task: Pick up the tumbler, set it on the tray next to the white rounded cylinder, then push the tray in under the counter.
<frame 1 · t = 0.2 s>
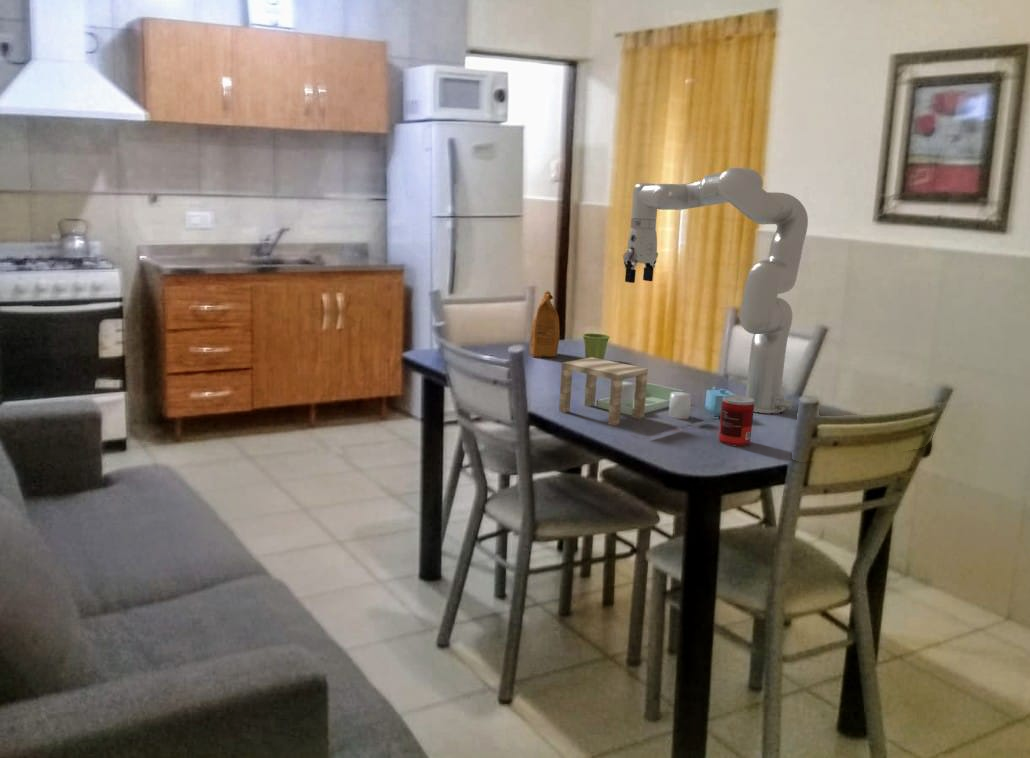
hand: (638, 281, 299), 31 cm above the table, tool pointing down, fingers open, 9 cm apart
tray: (640, 399, 269), point 2 cm above the table, slide at 12.0 cm, touching white rounded cylinder
canned food: (733, 443, 240), on the table
coffee package: (543, 355, 340), on the table
plant pot: (594, 361, 335), on the table
tumbler: (678, 419, 259), on the table
teapot: (718, 415, 267), on the table
counter: (600, 417, 256), on the table
white rounded cylinder: (622, 409, 264), point 1 cm above the table, touching tray
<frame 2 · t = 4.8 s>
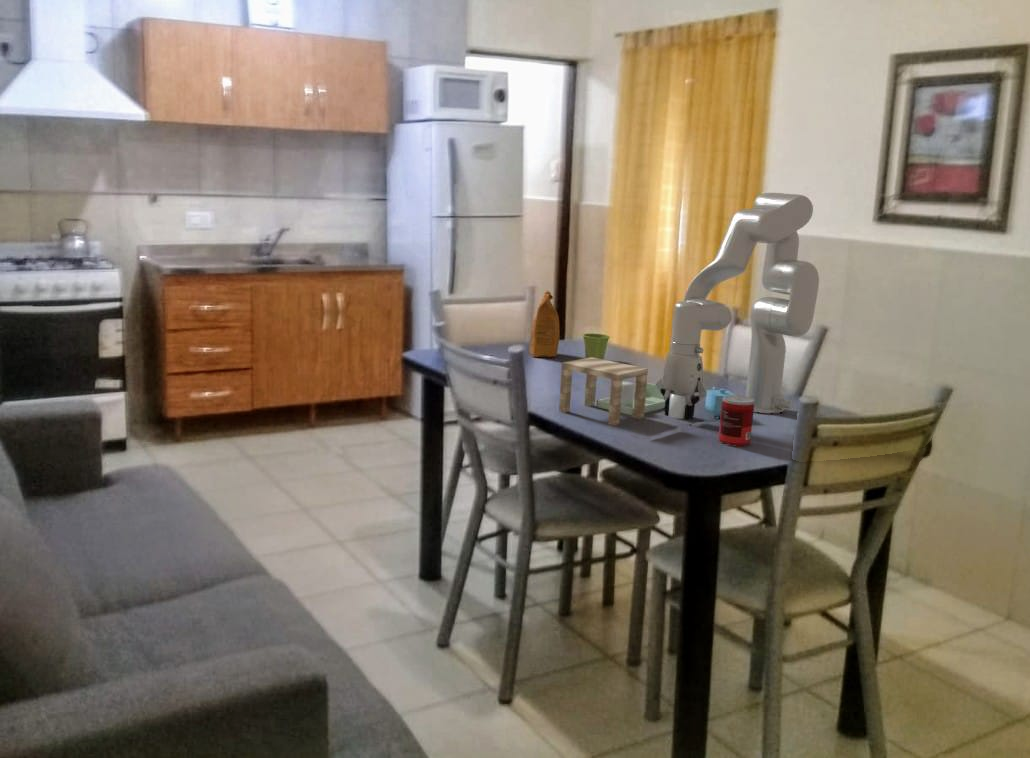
hand: (678, 416, 259), 1 cm above the table, tool pointing down, fingers closed on tumbler, 5 cm apart
tumbler: (678, 419, 259), on the table, touching gripper
everything else where it was.
when the fingers open (3 cm above the table, at t = 9.1 s): tumbler drops 1 cm, resting on tray.
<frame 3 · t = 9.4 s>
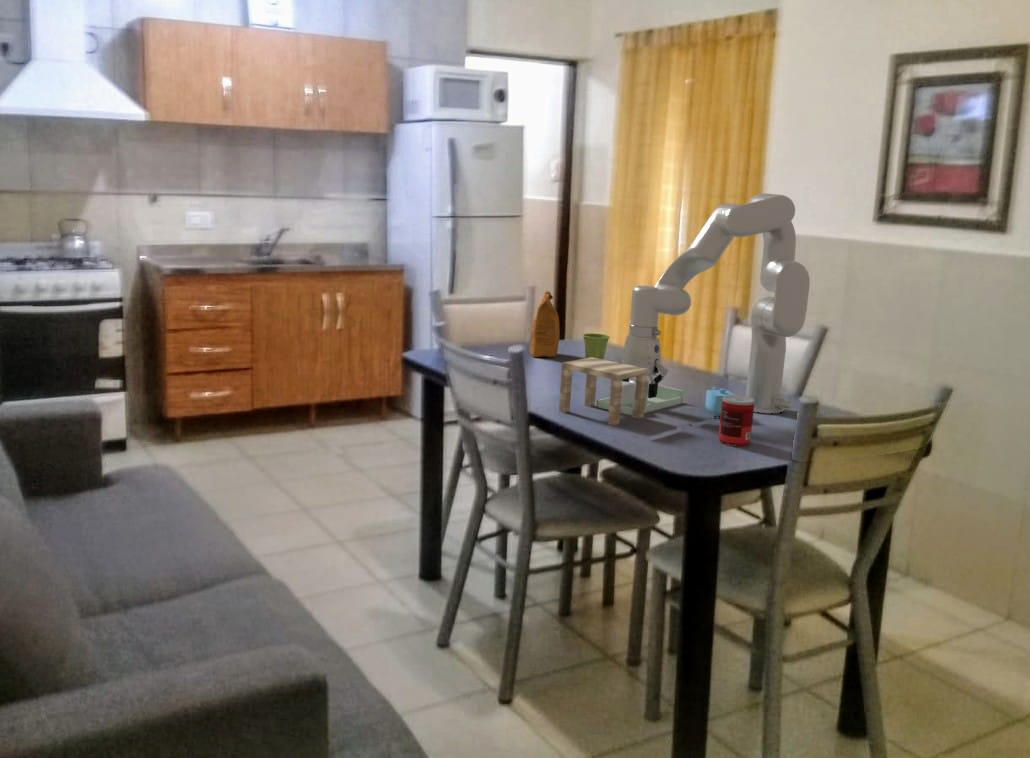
hand: (638, 394, 268), 4 cm above the table, tool pointing down, fingers open, 8 cm apart
tray: (640, 399, 269), point 2 cm above the table, slide at 12.0 cm, touching white rounded cylinder, tumbler
tumbler: (637, 405, 268), point 1 cm above the table, touching tray
everything else where it was.
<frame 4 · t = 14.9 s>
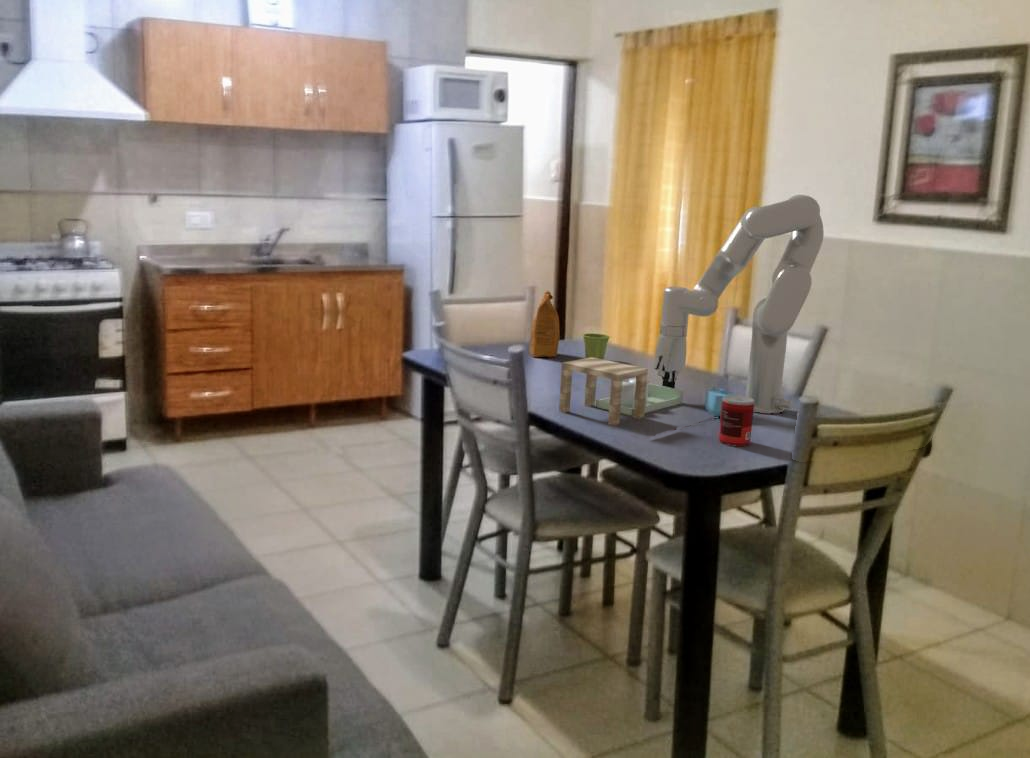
hand: (667, 394, 280), 2 cm above the table, tool pointing down, fingers closed
tray: (640, 399, 269), point 2 cm above the table, slide at 11.8 cm, touching gripper, white rounded cylinder, tumbler
everything else where it was.
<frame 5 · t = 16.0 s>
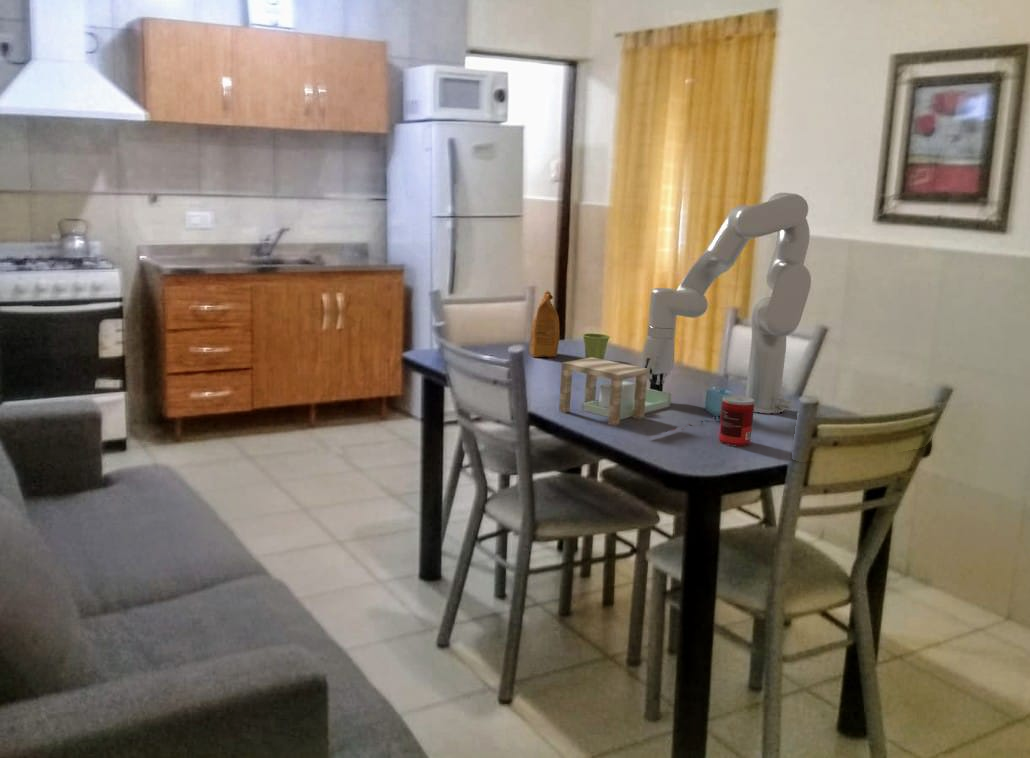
hand: (655, 397, 275), 2 cm above the table, tool pointing down, fingers closed
tray: (626, 403, 264), point 2 cm above the table, slide at 5.5 cm, touching gripper, white rounded cylinder, tumbler
tumbler: (623, 408, 264), point 1 cm above the table, touching tray
white rounded cylinder: (608, 412, 259), point 1 cm above the table, touching tray
everything else where it was.
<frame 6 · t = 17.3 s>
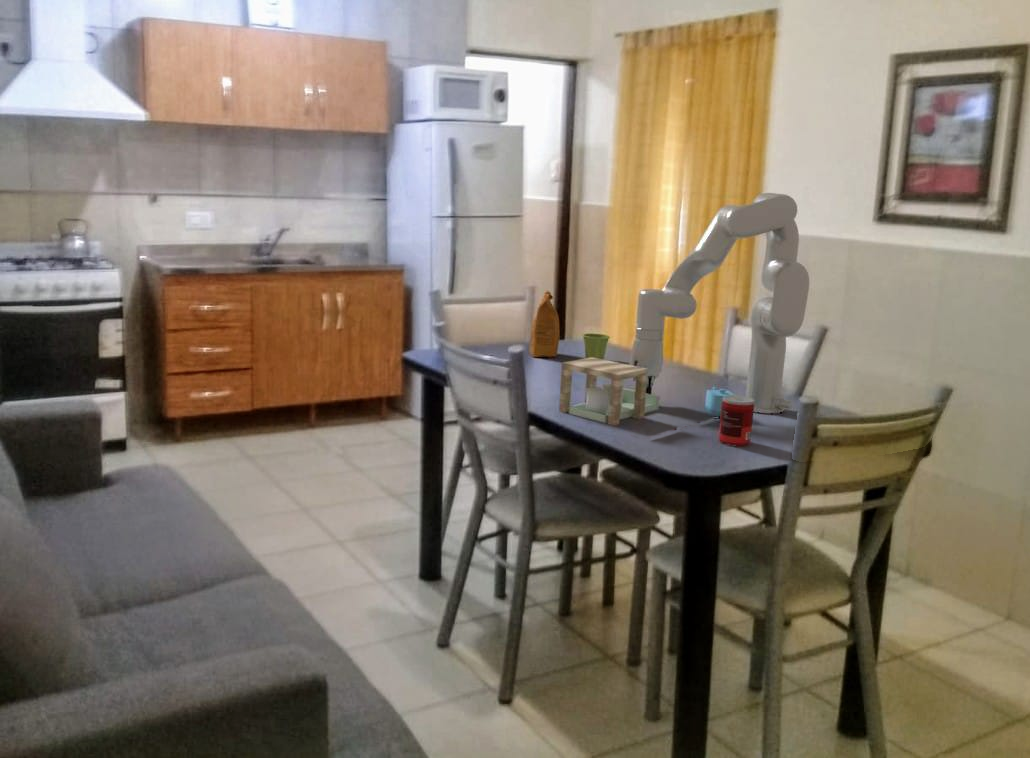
hand: (644, 400, 271), 2 cm above the table, tool pointing down, fingers closed
tray: (614, 406, 260), point 2 cm above the table, slide at -0.1 cm, touching gripper, white rounded cylinder, tumbler
tumbler: (611, 411, 259), point 1 cm above the table, touching tray
white rounded cylinder: (595, 415, 255), point 1 cm above the table, touching tray
everything else where it was.
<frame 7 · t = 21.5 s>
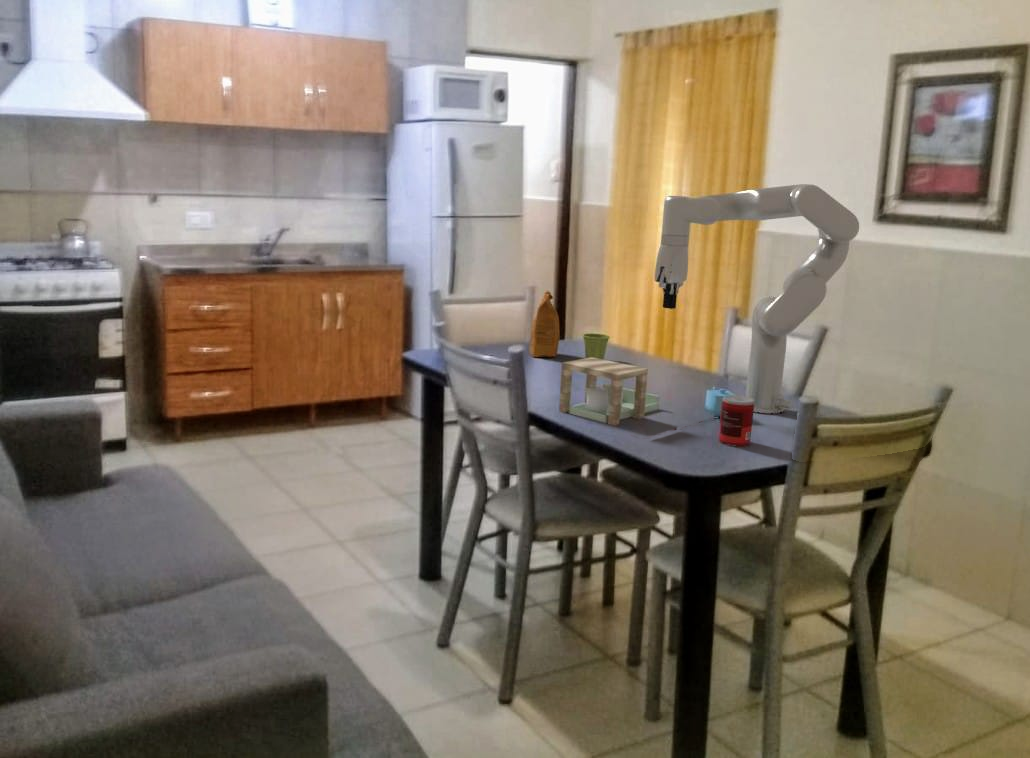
hand: (669, 307, 272), 27 cm above the table, tool pointing down, fingers closed
tray: (615, 405, 260), point 2 cm above the table, slide at 0.0 cm, touching white rounded cylinder, tumbler
everything else where it was.
at the end: tray slide at 0.0 cm; tumbler inside the target area on the counter (1.5 cm from its centre), point 1.0 cm above the counter's base; tumbler tilted 1° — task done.
